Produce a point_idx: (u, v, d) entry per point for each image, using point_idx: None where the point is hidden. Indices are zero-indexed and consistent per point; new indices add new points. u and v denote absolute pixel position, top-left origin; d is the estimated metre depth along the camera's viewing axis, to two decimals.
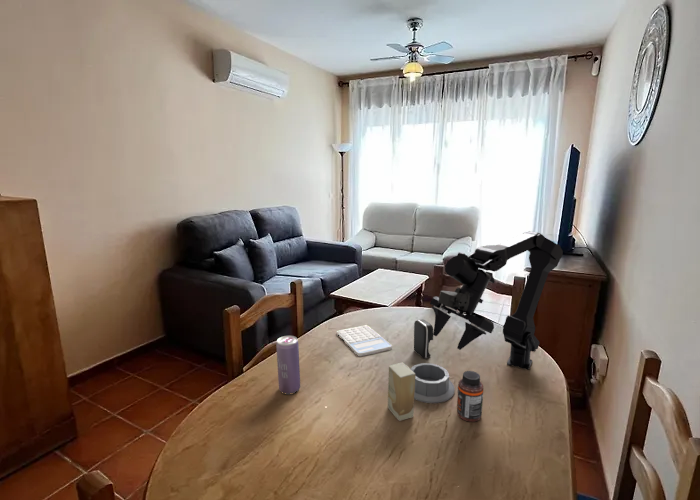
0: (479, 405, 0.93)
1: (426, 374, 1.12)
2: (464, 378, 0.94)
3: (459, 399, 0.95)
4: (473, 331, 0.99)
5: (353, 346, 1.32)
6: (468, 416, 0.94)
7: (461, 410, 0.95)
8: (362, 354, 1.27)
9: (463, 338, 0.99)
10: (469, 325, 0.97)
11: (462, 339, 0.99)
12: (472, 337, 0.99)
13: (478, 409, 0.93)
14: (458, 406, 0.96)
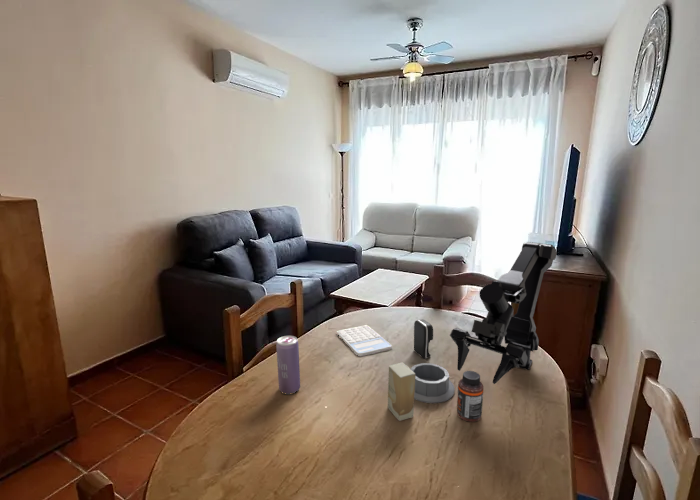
0: (479, 405, 0.93)
1: (426, 374, 1.12)
2: (464, 378, 0.94)
3: (459, 399, 0.95)
4: (507, 364, 0.95)
5: (353, 346, 1.32)
6: (468, 416, 0.94)
7: (461, 410, 0.95)
8: (362, 354, 1.27)
9: (499, 371, 0.93)
10: (508, 356, 0.93)
11: (498, 372, 0.93)
12: (506, 370, 0.95)
13: (478, 409, 0.93)
14: (458, 406, 0.96)
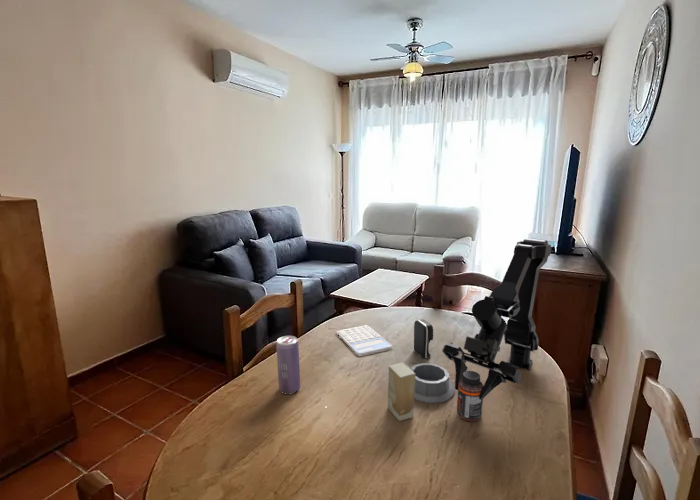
0: (479, 404, 0.93)
1: (426, 374, 1.12)
2: (464, 378, 0.94)
3: (459, 399, 0.95)
4: (494, 379, 0.94)
5: (353, 346, 1.32)
6: (468, 416, 0.94)
7: (461, 410, 0.95)
8: (362, 354, 1.27)
9: (486, 387, 0.92)
10: (494, 372, 0.91)
11: (485, 388, 0.92)
12: (493, 385, 0.94)
13: (478, 408, 0.93)
14: (458, 406, 0.96)
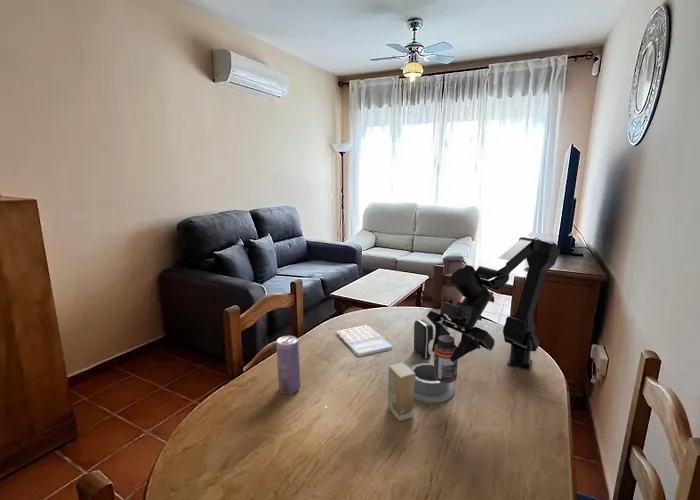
0: (451, 367, 0.98)
1: (426, 374, 1.12)
2: (438, 340, 0.99)
3: (434, 360, 1.00)
4: (468, 344, 0.97)
5: (353, 346, 1.32)
6: (441, 377, 0.99)
7: (435, 371, 1.00)
8: (362, 354, 1.27)
9: (458, 350, 0.96)
10: (466, 336, 0.95)
11: (456, 351, 0.96)
12: (466, 350, 0.97)
13: (450, 370, 0.98)
14: (434, 367, 1.01)
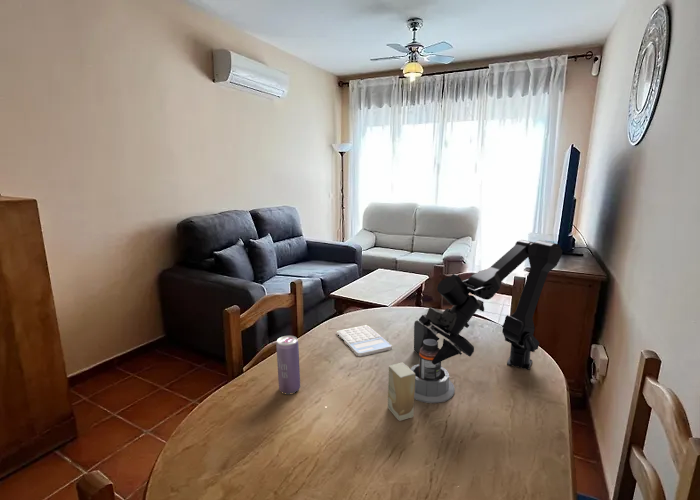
0: (433, 369, 1.04)
1: None
2: (423, 343, 1.06)
3: (419, 362, 1.07)
4: (450, 349, 1.03)
5: (353, 346, 1.32)
6: (423, 377, 1.06)
7: (419, 371, 1.07)
8: (362, 354, 1.27)
9: (439, 354, 1.02)
10: (446, 342, 1.01)
11: (438, 354, 1.03)
12: (448, 354, 1.03)
13: (432, 372, 1.04)
14: (419, 368, 1.08)
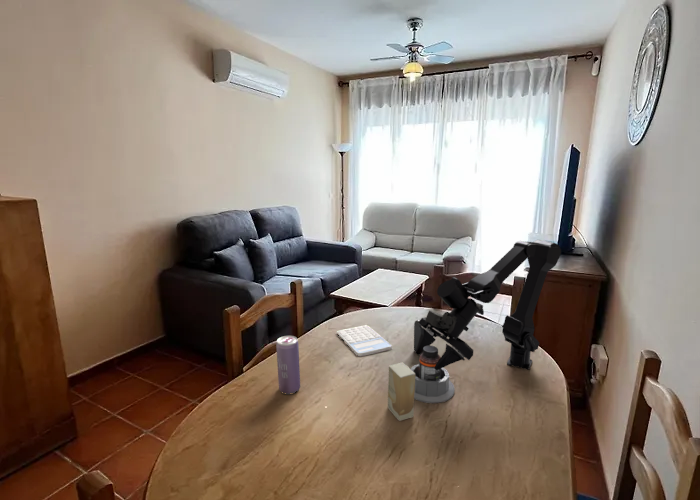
0: (432, 375, 1.05)
1: None
2: (423, 350, 1.06)
3: (419, 368, 1.08)
4: (452, 355, 1.02)
5: (353, 346, 1.32)
6: None
7: (419, 378, 1.08)
8: (362, 354, 1.27)
9: (441, 359, 1.01)
10: (449, 347, 1.00)
11: (440, 360, 1.01)
12: (450, 360, 1.02)
13: (432, 379, 1.05)
14: None
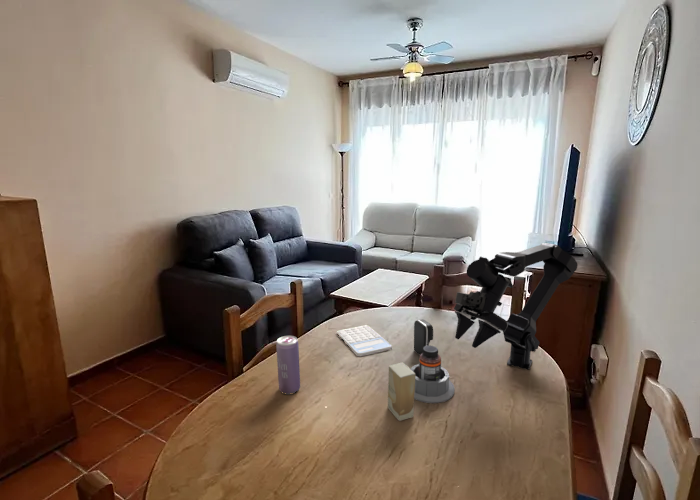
0: (433, 375, 1.05)
1: None
2: (423, 350, 1.06)
3: (419, 368, 1.08)
4: (488, 330, 1.03)
5: (353, 346, 1.32)
6: None
7: (419, 378, 1.08)
8: (362, 354, 1.27)
9: (477, 335, 1.02)
10: (481, 322, 1.01)
11: (476, 337, 1.03)
12: (487, 335, 1.02)
13: (432, 379, 1.05)
14: None
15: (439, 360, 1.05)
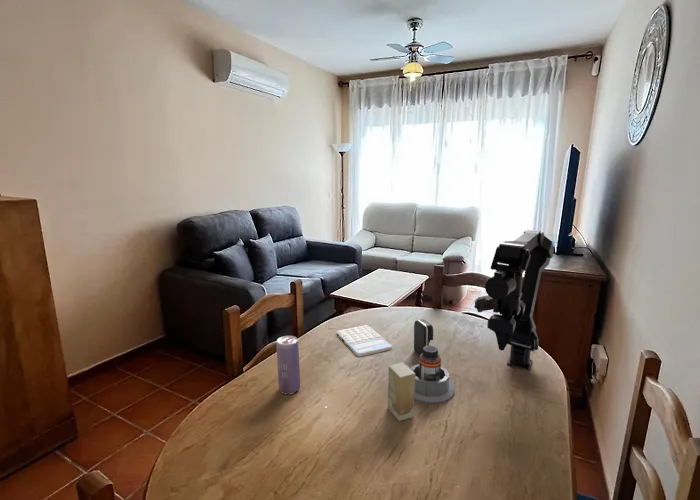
0: (432, 375, 1.05)
1: None
2: (423, 350, 1.06)
3: (419, 368, 1.08)
4: None
5: (353, 346, 1.32)
6: None
7: (419, 378, 1.08)
8: (362, 354, 1.27)
9: (497, 339, 1.02)
10: None
11: None
12: (505, 337, 1.00)
13: (432, 379, 1.05)
14: None
15: (439, 360, 1.05)
